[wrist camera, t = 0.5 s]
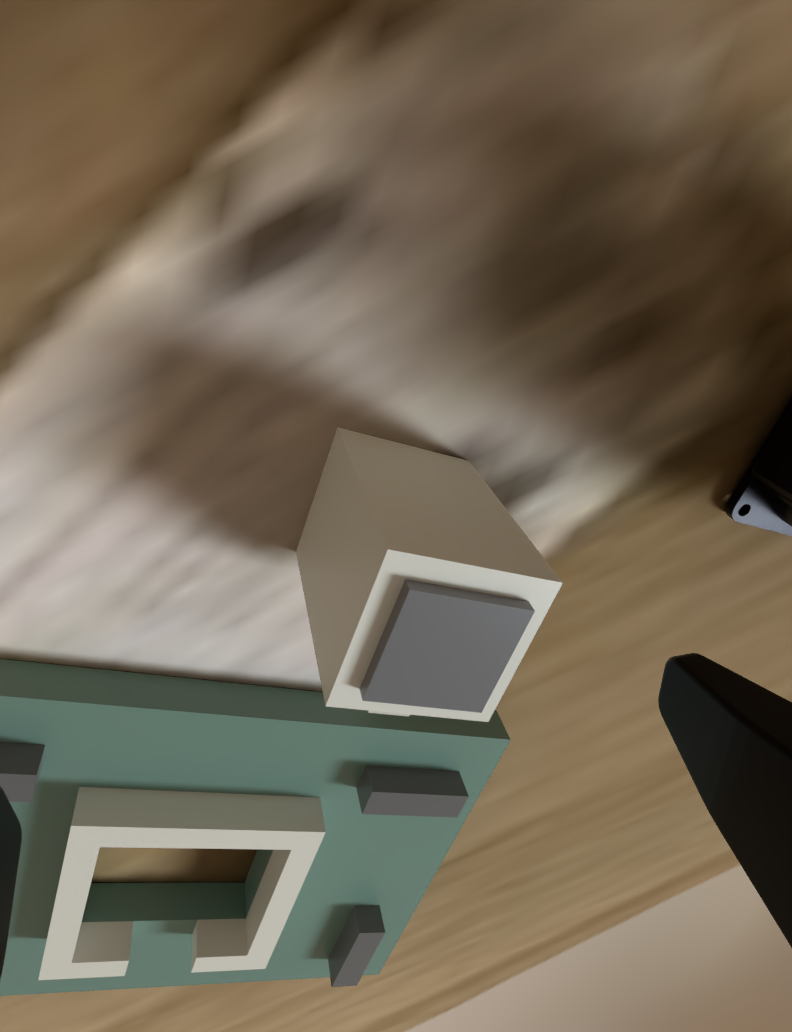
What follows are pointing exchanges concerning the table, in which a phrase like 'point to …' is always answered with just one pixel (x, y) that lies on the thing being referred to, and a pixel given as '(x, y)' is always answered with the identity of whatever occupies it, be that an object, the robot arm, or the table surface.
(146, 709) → the board
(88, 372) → the table surface
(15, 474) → the table surface
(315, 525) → the plug
